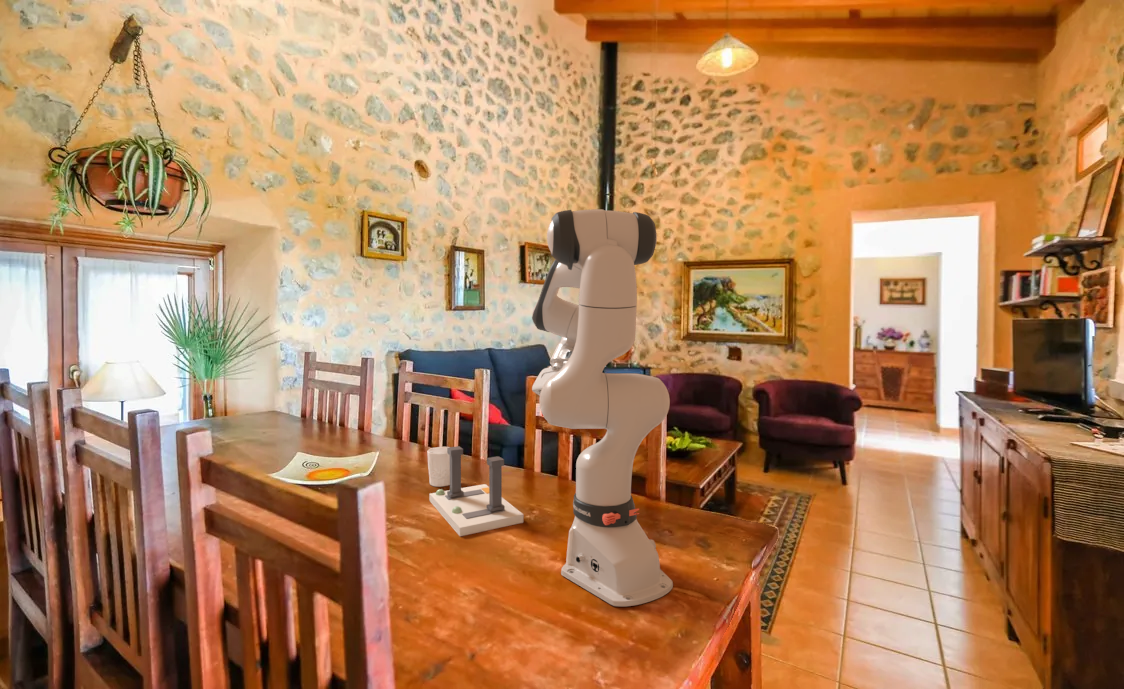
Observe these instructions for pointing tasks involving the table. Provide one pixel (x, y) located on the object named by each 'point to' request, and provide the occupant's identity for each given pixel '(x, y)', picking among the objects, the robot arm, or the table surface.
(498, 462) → the post
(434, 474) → the white cup
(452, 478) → the post
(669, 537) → the table surface
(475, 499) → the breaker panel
